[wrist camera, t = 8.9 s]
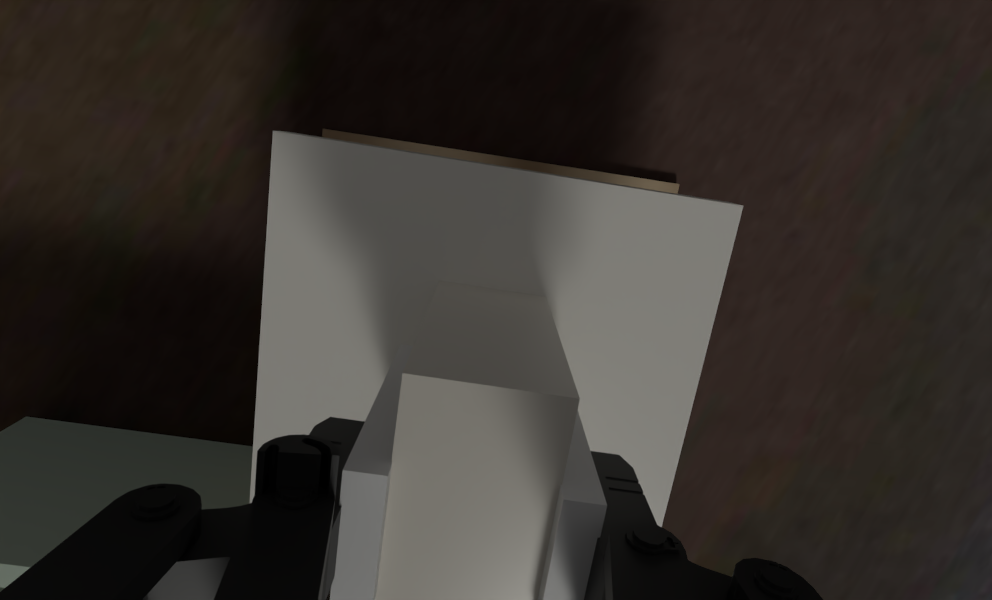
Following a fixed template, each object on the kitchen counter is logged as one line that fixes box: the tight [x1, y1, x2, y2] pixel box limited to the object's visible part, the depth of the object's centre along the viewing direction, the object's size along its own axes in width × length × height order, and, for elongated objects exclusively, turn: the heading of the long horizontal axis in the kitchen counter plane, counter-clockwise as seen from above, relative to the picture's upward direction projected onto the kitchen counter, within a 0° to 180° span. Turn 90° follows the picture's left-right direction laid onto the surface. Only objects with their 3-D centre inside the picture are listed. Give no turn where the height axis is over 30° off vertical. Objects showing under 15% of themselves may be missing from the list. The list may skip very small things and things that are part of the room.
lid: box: [249, 131, 743, 600], centre depth 16 cm, size 13×13×10 cm
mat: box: [322, 129, 679, 194], centre depth 24 cm, size 13×13×1 cm
